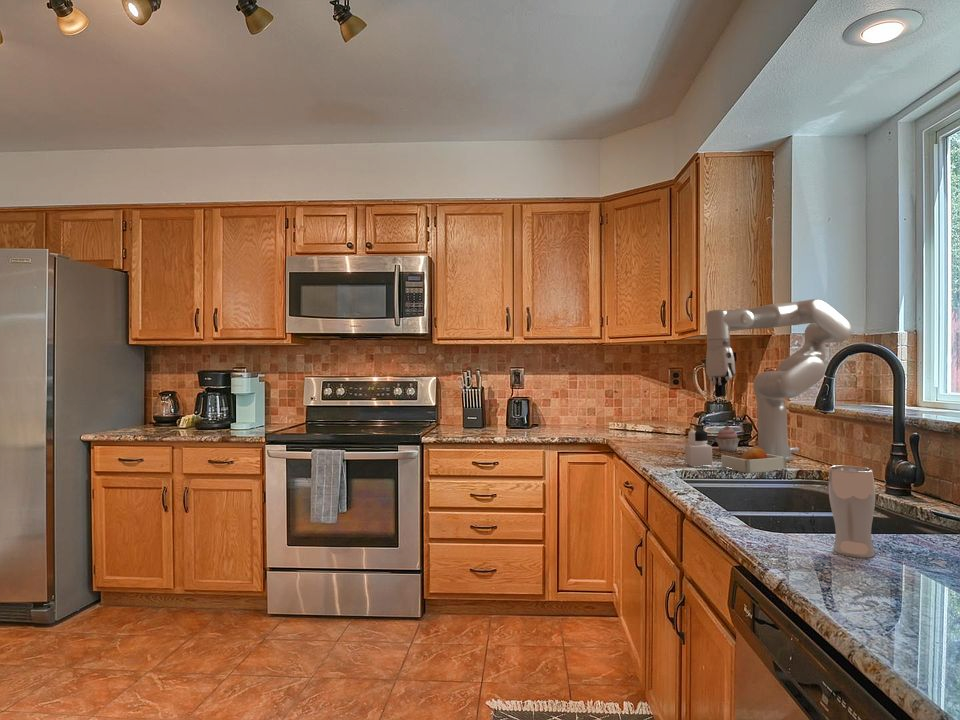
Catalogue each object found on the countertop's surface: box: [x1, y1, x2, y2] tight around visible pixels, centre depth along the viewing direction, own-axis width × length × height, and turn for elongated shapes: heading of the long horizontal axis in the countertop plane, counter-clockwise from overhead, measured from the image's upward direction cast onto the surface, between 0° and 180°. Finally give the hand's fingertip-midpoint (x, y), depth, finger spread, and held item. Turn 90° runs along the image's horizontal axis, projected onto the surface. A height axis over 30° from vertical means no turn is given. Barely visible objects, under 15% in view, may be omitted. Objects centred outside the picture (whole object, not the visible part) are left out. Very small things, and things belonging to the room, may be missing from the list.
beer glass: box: [828, 465, 876, 559], centre depth 100 cm, size 7×7×15 cm
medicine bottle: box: [684, 429, 713, 467], centre depth 192 cm, size 7×7×12 cm
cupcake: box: [714, 425, 741, 452], centre depth 225 cm, size 9×9×10 cm
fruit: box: [740, 447, 767, 460], centre depth 183 cm, size 8×8×8 cm
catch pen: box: [720, 454, 788, 474], centre depth 184 cm, size 15×12×4 cm
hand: (720, 396), depth 198 cm, fingers closed
